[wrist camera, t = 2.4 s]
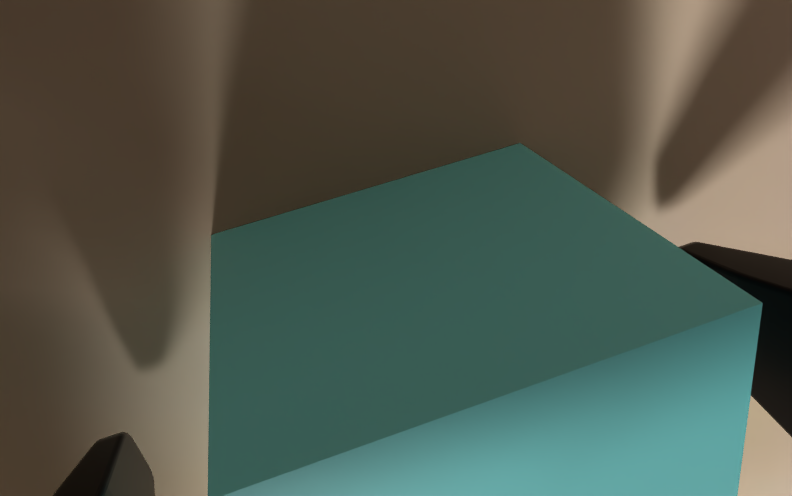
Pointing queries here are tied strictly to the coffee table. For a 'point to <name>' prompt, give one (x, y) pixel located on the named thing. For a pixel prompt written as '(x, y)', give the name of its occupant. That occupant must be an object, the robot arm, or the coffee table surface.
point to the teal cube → (473, 346)
